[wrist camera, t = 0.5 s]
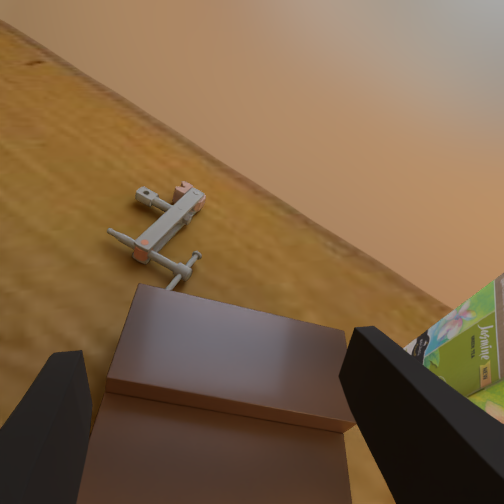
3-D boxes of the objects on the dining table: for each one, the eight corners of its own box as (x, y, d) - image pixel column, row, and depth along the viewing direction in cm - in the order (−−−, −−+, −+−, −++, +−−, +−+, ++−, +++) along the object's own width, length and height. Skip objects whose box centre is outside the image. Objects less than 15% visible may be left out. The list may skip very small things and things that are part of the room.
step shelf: (341, 759, 18) (417, 805, 14) (-12, 765, 15) (-48, 825, 11) (312, 364, 33) (344, 330, 29) (131, 327, 30) (138, 282, 26)
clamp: (161, 167, 41) (238, 209, 41) (159, 182, 43) (233, 223, 42) (62, 242, 30) (165, 300, 30) (63, 259, 32) (161, 315, 31)
